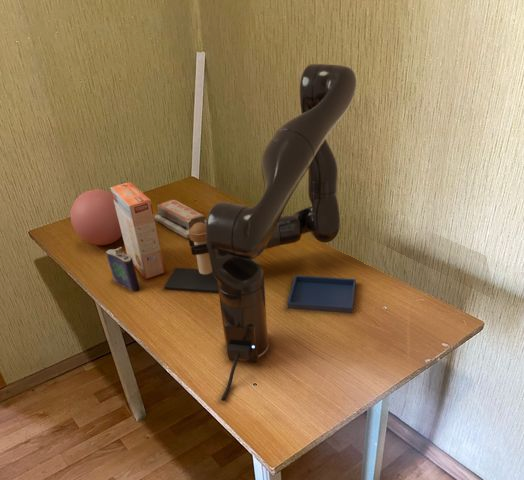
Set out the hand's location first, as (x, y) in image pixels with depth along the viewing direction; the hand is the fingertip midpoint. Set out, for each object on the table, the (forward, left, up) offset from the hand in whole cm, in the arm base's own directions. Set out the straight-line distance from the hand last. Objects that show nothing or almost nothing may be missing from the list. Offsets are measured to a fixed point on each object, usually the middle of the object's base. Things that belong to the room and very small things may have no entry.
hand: (190, 246), depth 129 cm
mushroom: (+1, -3, -7) cm, 8 cm away
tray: (-2, -33, -11) cm, 34 cm away
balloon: (+20, +32, -11) cm, 39 cm away
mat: (+1, -3, -11) cm, 11 cm away
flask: (-3, +18, -11) cm, 21 cm away
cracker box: (+7, +16, -11) cm, 21 cm away
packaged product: (+31, +14, -11) cm, 36 cm away
